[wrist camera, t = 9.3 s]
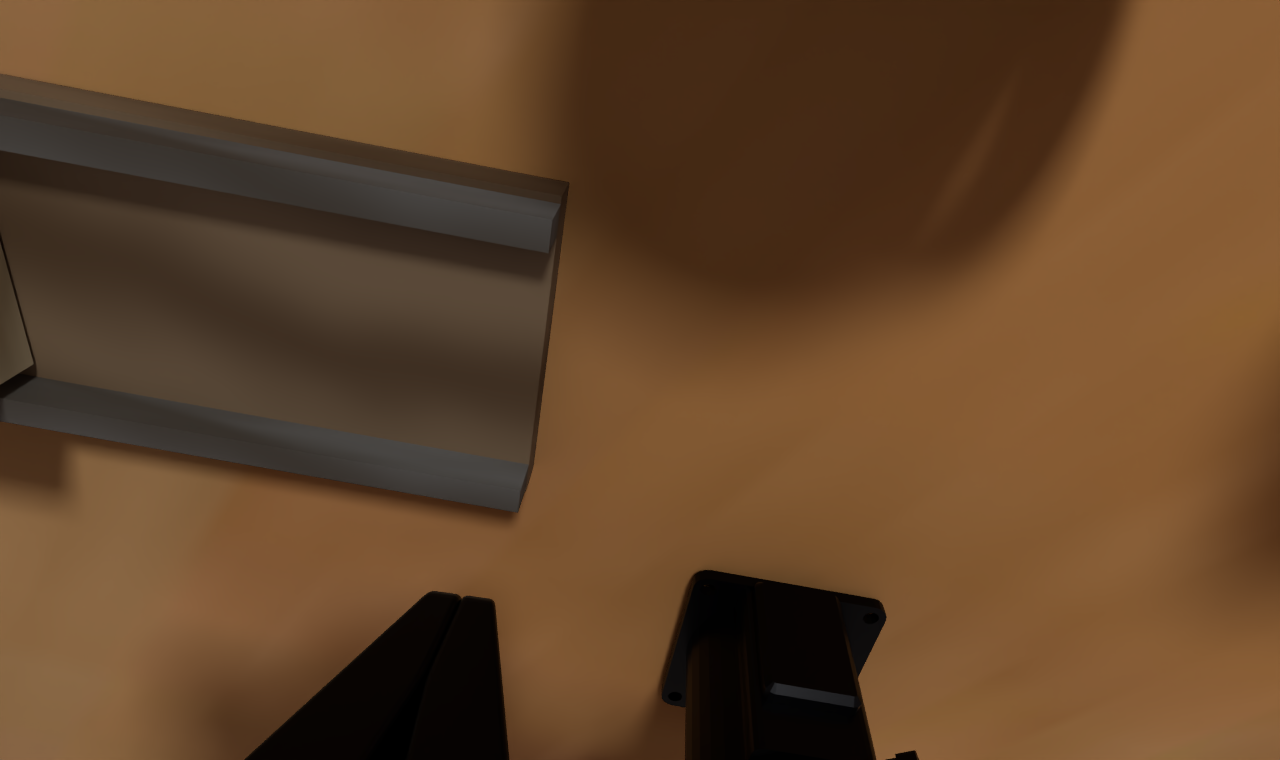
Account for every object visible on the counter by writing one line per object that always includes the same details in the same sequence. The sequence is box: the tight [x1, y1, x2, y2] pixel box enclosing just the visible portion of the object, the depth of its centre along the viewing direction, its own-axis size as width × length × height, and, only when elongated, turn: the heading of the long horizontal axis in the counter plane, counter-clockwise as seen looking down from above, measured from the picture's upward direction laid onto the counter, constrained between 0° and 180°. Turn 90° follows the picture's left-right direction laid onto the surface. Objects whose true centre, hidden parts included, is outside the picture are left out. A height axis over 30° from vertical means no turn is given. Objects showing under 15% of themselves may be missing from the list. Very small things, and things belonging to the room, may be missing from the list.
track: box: [0, 74, 569, 512], centre depth 18 cm, size 9×24×6 cm, turn 80°
